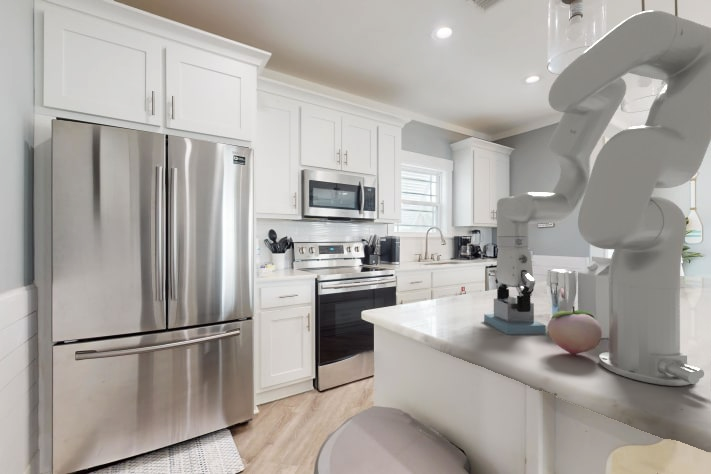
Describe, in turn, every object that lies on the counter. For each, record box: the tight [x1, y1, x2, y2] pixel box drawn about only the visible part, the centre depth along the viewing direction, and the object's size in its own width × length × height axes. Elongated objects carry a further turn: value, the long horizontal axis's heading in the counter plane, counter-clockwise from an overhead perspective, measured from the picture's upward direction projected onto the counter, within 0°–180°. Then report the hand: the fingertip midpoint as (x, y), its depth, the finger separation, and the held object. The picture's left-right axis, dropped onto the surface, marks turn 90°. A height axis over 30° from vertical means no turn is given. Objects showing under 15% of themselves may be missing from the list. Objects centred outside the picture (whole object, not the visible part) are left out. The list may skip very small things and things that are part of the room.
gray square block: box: [493, 298, 535, 324], centre depth 84 cm, size 7×7×5 cm
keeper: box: [483, 295, 547, 335], centre depth 84 cm, size 12×10×8 cm
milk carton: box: [577, 256, 611, 339], centre depth 78 cm, size 7×7×19 cm
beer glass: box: [546, 269, 578, 322], centre depth 84 cm, size 7×7×15 cm
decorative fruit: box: [547, 306, 602, 356], centre depth 64 cm, size 9×8×10 cm
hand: (512, 307), depth 84 cm, fingers open, 9 cm apart
